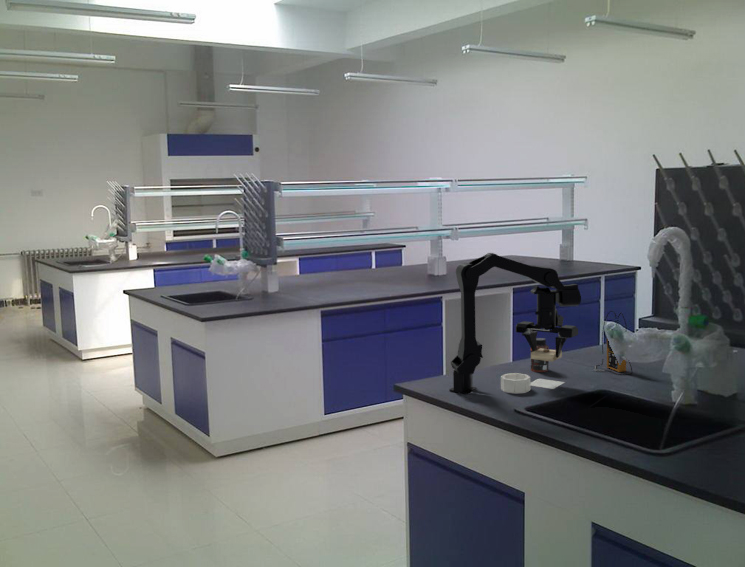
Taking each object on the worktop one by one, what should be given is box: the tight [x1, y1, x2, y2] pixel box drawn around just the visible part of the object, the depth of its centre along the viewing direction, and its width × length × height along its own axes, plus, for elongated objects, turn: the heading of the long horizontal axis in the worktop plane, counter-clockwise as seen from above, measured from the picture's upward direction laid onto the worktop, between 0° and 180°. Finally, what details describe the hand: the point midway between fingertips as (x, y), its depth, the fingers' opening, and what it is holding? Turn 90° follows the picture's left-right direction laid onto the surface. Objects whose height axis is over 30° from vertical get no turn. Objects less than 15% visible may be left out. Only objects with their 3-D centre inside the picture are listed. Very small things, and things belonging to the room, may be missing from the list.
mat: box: [530, 378, 566, 390], centre depth 230 cm, size 9×9×1 cm
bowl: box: [500, 372, 531, 394], centre depth 225 cm, size 8×8×4 cm
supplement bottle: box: [530, 337, 550, 373], centre depth 247 cm, size 6×6×11 cm
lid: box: [530, 348, 563, 362], centre depth 229 cm, size 7×7×3 cm
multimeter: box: [594, 310, 633, 376], centre depth 244 cm, size 15×10×20 cm
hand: (546, 356), depth 229 cm, fingers closed on lid, 7 cm apart
